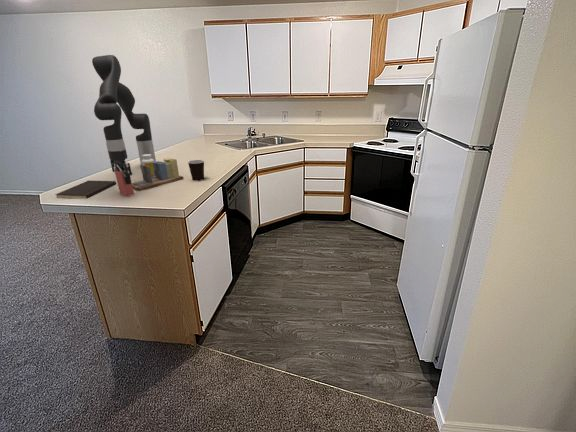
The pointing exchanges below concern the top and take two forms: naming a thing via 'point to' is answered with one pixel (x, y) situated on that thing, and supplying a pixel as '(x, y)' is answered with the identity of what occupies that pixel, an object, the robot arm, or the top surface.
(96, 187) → the hardcover book
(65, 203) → the top surface
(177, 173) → the shelf
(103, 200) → the top surface
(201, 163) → the coffee mug
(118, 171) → the book
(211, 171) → the top surface
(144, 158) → the supplement bottle
